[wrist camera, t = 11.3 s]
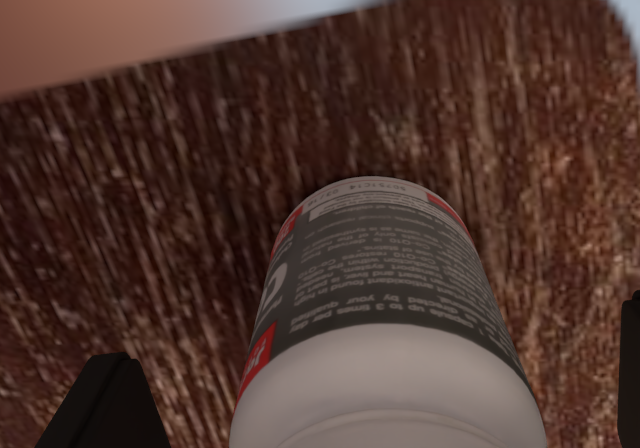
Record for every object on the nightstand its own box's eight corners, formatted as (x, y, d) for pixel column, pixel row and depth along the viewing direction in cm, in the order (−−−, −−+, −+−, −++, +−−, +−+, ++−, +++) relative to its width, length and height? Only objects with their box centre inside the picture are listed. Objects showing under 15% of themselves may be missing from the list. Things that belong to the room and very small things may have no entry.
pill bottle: (254, 186, 14) (136, 491, 6) (466, 156, 13) (617, 450, 6) (292, 355, 16) (238, 743, 8) (478, 336, 15) (604, 730, 8)
